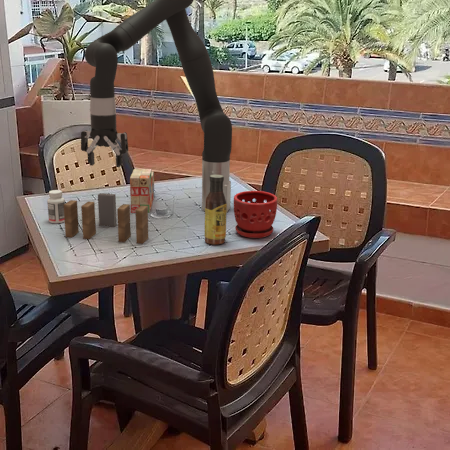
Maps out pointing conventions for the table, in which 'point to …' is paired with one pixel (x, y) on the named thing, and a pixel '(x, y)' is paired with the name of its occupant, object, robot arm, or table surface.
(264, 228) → the plant pot
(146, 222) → the walnut domino
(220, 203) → the sauce bottle
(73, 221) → the walnut domino
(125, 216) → the walnut domino
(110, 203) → the charcoal domino
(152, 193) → the stack of blocks
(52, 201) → the pill bottle
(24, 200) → the table surface
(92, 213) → the walnut domino
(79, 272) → the table surface
